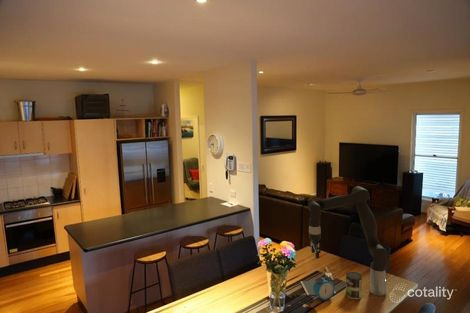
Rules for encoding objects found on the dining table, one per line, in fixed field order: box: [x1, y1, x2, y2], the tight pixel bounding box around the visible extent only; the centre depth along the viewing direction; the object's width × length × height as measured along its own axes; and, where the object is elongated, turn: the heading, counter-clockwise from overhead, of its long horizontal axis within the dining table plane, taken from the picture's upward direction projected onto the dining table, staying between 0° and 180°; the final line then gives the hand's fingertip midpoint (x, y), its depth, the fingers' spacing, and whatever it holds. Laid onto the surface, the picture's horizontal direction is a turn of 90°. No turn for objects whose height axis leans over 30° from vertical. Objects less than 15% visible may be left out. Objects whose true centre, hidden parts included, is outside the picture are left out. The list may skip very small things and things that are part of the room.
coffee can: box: [345, 271, 363, 300], centre depth 216 cm, size 10×10×14 cm
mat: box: [300, 279, 337, 297], centre depth 227 cm, size 20×18×1 cm
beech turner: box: [324, 266, 334, 281], centre depth 246 cm, size 18×4×1 cm, turn 174°
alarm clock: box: [313, 275, 336, 302], centre depth 214 cm, size 13×6×15 cm, turn 108°
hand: (315, 255), depth 214 cm, fingers open, 8 cm apart
